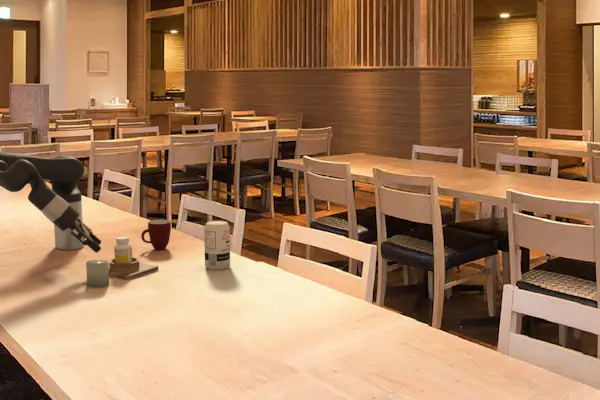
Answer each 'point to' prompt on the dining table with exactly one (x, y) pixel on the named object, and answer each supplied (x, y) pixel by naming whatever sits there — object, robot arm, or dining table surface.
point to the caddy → (129, 269)
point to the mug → (158, 233)
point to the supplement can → (217, 245)
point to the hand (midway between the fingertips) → (99, 247)
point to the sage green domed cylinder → (97, 273)
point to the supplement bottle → (123, 250)
